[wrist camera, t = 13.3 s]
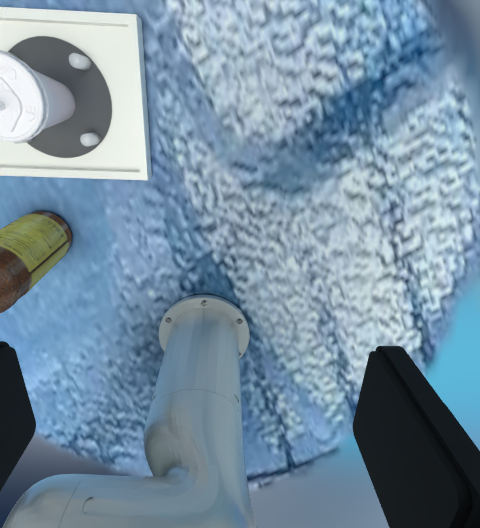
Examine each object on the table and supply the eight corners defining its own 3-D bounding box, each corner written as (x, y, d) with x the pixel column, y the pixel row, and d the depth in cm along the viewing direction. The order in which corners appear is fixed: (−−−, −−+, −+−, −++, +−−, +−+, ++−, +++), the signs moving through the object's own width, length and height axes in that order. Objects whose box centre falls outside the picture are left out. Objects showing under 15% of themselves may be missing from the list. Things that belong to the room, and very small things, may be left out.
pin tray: (152, 176, 39) (145, 182, 36) (-10, 171, 39) (-31, 176, 35) (141, 20, 33) (132, 10, 30) (-50, 9, 33) (-81, -1, 29)
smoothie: (36, 138, 36) (-66, 153, 23) (13, 69, 34) (-117, 44, 21) (96, 131, 36) (26, 142, 23) (77, 61, 34) (-13, 31, 21)
